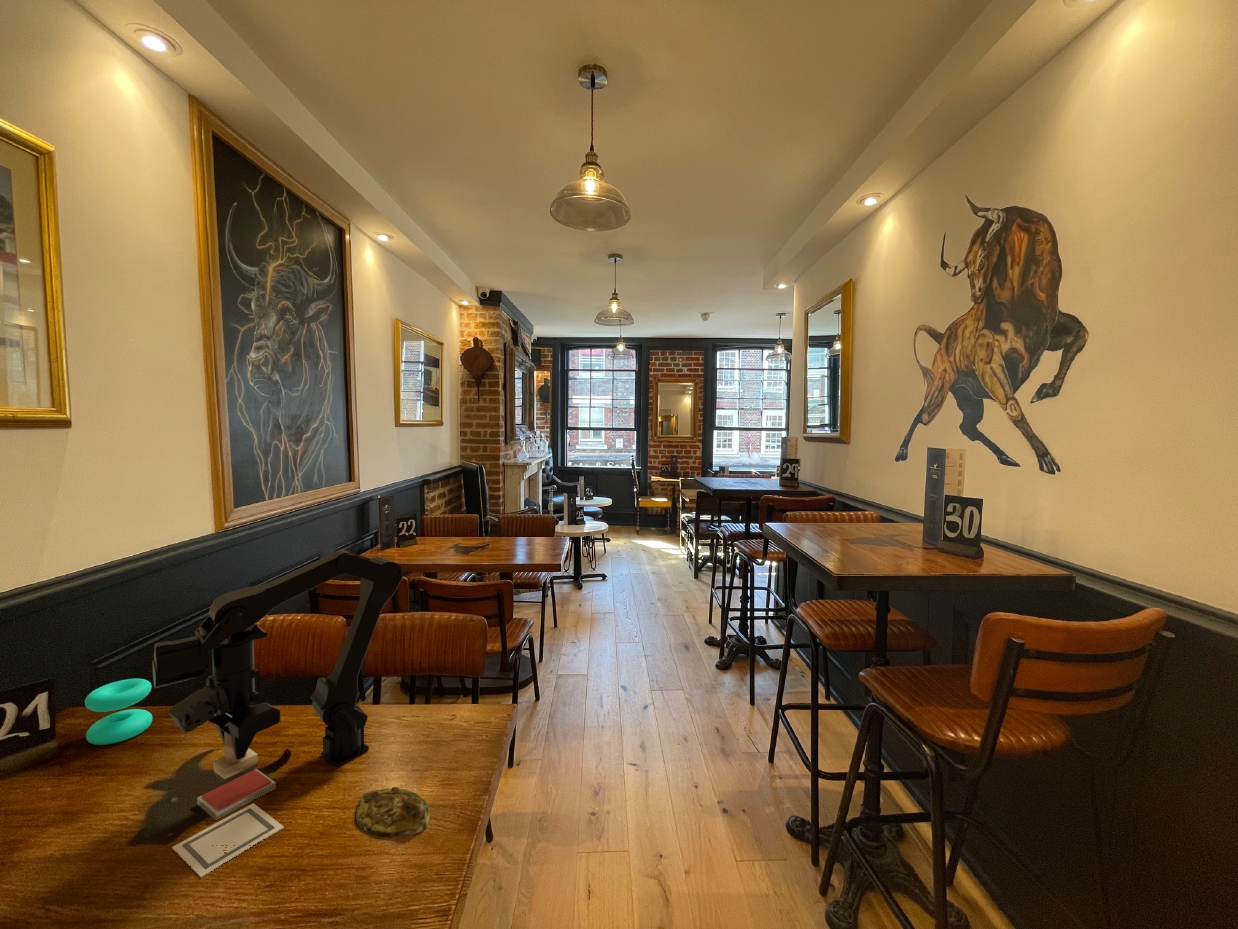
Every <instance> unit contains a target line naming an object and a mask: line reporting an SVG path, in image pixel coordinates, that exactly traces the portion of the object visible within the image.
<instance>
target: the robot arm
mask: <svg viewBox="0 0 1238 929" xmlns="http://www.w3.org/2000/svg"><path fill="white" fill-rule="evenodd" d="M343 574H348V575H351V576H355V577H357V578H360V582H359V601H358V604H357V607H356V609H355V611H354V615H353V618H352V620H351V623H350V625H349V627H348V630H347V633H346V636H345V639H344V642H343V644H342V646H341V649H340V651H339V655H338V658H337V660H336V662H335V665H334V668H333V670H332V671H331V672H330V673H329V674H328V675H327V677H323V676H322V677H321V676H320V677H318V679H317V682H316V686H315V690H314V692H313V693H312V694H311V695H310V699H311V700H312V703H311V704H312V709H313V710H314V713H316V715H318V717H319V718H320V720H321V721H322V722H323V723H324V725H326V726H325V727H324V736H323V737H322V752H320V756H321V757H322V758H323V759H325V760H327V761H328V762H330V763H333V765H335V766H337V767H340V766H342V765H344V764H346V763H348V762H349V761H352V759H354V758H355V759H356V757H359V756H361V755H362V754H364V753H365V752H367V751H368V750H370V746H369V745H368V744H365V726H366V724H367V721H368V717H369V716H368V714H367V713H366V712H365V711H364V710H363V709H362V708H361V707H360V706H359V705H358V704H357V700H358V694H359V693H358V691H359V690H358V689H359V687H358V684H359V683H358V679H359V678H358V676H359V673H360V671H361V668H362V666H363V663H364V659H365V657H366V655H367V651H368V649H369V646H370V643H371V640H372V638H373V635H374V634H375V633H374V632H375V630H376V627H377V624H378V621H379V619H380V616H381V613H382V611H383V608H384V606H385V605H386V603H387V602H388V601H389V600H390V599H391V598H392V597H393V596H394V594H396V591H397V590H398V588H399V586H400V583H401V582H402V580H403V577H404V571H403V569H402V566H401V565H400V564H399V563H397V562H395V561H393V560H390V559H389V558H386V557H384V556H376V557H372V558H370V557H366V556H363V555H359V554H356V553H351V552H349V551H347V550H345V549H337V550H335V551H333V552H332V553H330V554H329V555H327V556H324V557H322V558H319V559H318V560H315V561H313V562H311V563H308V564H307V565H304V566H302V567H299V568H297V569H295V570H292V571H291V572H288V573H286V574H284V575H282V576H280V577H278V578H275V579H274V580H271V581H269V582H266V583H262V584H258V585H253V586H252V585H251V586H246V587H242V588H240V589H236V590H232V591H229V592H225V593H223V594H221V595H219V596H217V597H216V598H215V599H214V600H213V602H211V605H210V607H209V610H208V611H209V614H208V616H207V617H206V618H205V619H204V620H203V621H202V623H201V624H200V625H199V627H198V628H197V629H196V630H195V636H191V637H190V636H189V637H186V638H181V639H177V640H168V641H160V642H156V643H155V644H154V652H153V660H152V680H153V687H154V689H158V688H161V687H162V688H163V687H166V686H170V685H174V684H178V683H181V682H182V683H183V682H186V681H189V680H193V679H198V678H201V676H202V675H203V674H205V673H206V670H207V669H209V667H210V654H209V653H210V652H209V650H212V651H211V652H212V659H211V660H212V674H210V675H208V676H207V678H206V679H205V687H203V688H200V689H197V690H196V691H195V692H193V693H192V694H190V695H188V696H187V697H186V698H184V699H181V701H179V702H178V703H176V704H174V705H173V706H171V707H170V708H169V709H168V711H167V713H168V714H169V716H170V718H171V719H172V721H173V723H174V724H175V726H176V728H179V729H180V730H181V731H182V732H184V733H189V732H192V731H194V730H196V729H197V728H198V727H201V726H202V725H204V724H205V723H207V722H209V723H211V724H213V725H215V726H216V728H217V730H218V733H219V735H220V737H221V741H222V743H223V745H224V747H225V739H224V732H225V733H227V734H229V735H231V738H232V743H233V748H234V753H235V756H236V759H237V760H239V759H241V758H243V757H244V756H245V754H246V752H247V750H248V748H249V749H250V746H251V744H252V742H253V741H254V738H255V737H256V735H257V733H259V732H262V731H263V730H266V729H269V728H271V727H274V726H275V725H278V724H279V723H280V722H281V710H280V709H278V708H276V707H275V706H274V705H271V704H269V703H267V702H265V701H263V702H260V703H258V704H252V703H253V702H255V701H258V700H260V699H261V696H260V694H261V693H260V692H258V691H256V690H255V688H256V686H255V678H257V677H260V669H258V668H255V642H254V641H255V640H260V639H263V638H264V639H265V638H267V637H268V634H269V633H268V632H267V631H266V630H265V629H264V628H263V627H261V626H258V625H257V623H258V622H260V621H261V620H262V619H264V618H266V616H267V615H268V614H270V612H271V611H273V610H274V609H275V608H277V607H278V606H280V605H281V604H283V603H285V602H287V601H290V600H291V599H294V598H296V597H298V596H300V595H301V594H304V593H306V592H309V591H310V590H312V589H314V588H316V587H319V586H320V585H323V584H325V583H326V582H328V581H330V580H333V579H335V578H336V577H339V576H341V575H343ZM228 723H229V725H228V726H225V725H226V724H228ZM224 726H225V727H224Z"/></svg>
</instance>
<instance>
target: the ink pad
mask: <svg viewBox="0 0 1238 929" xmlns="http://www.w3.org/2000/svg"><path fill="white" fill-rule="evenodd" d="M276 784H277V783H276V781H274V779H272V778H271V777H269V776H267V774H265V773H263V772H262V771H260V770H259V769H257V768H254V769H252V770H250V771H248V772H246V773H244V774H242V775H240V776H238V777H236V778H234V779H231V780H229V781H227V782H225V783H224V784H222V785H220V786H218V787H216V788H214V789H212V790H210V791H207V792H205V793H204V794H202V795H199V796H198V797H197V798H196V800H197V801H196V803H197V806H199V807H200V808H201V809H202V811H204V812H205V813H206V814H208V816H210V817H211V818H212V817H213V818H212V819H214V821H218V820H220V819H222V818H223V817H226V816H227V815H229V814H231V813H233V812H236V811H237V810H240V809H241V808H242V807H244V806H246V805H248V804H250V803H252V802H253V801H252V800H254V799H256V798H257V799H259V798H261V797H263V796H265V795H267V794H268V792H269V791H270V792H273V791H274V790H276V789H277V785H276ZM270 792H269V793H270ZM266 793H267V794H266ZM262 795H263V796H262ZM260 796H261V797H260ZM258 797H259V798H258ZM257 799H256V800H257ZM251 801H252V802H251ZM254 801H255V800H254ZM249 802H250V803H249ZM221 817H222V818H221ZM219 818H220V819H219ZM217 819H218V820H217Z"/></svg>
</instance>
